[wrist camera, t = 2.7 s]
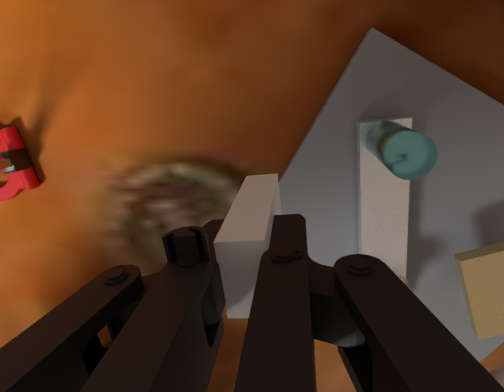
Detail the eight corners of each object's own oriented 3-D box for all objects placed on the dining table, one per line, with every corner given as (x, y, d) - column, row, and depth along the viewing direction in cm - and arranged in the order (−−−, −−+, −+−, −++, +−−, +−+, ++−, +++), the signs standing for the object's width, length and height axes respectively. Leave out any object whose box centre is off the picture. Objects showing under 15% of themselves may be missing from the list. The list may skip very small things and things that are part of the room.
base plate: (453, 368, 38) (460, 379, 36) (235, 253, 36) (232, 260, 34) (647, 194, 29) (665, 200, 27) (368, 29, 27) (371, 27, 25)
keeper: (456, 307, 33) (478, 339, 29) (438, 237, 31) (460, 261, 27) (510, 295, 32) (541, 327, 28) (496, 222, 30) (527, 244, 26)
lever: (404, 302, 33) (436, 368, 26) (354, 304, 34) (371, 367, 26) (411, 114, 27) (456, 129, 19) (350, 121, 28) (370, 137, 20)
